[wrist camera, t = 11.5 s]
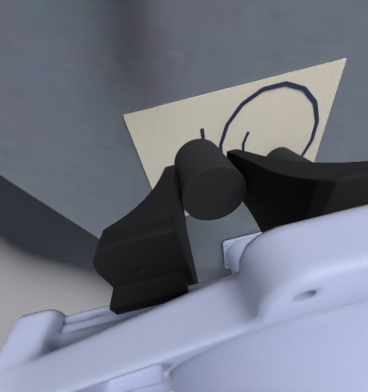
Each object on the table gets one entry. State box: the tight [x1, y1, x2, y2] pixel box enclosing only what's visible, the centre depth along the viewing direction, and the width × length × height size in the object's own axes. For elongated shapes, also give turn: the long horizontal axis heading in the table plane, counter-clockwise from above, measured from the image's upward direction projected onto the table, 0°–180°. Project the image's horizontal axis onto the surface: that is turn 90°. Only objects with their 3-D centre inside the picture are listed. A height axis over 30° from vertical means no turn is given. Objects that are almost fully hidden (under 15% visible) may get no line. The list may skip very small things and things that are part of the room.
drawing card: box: [123, 58, 347, 216], centre depth 20 cm, size 15×22×1 cm
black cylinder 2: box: [267, 147, 312, 162], centre depth 19 cm, size 4×4×4 cm
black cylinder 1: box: [174, 139, 246, 220], centre depth 11 cm, size 4×4×4 cm
